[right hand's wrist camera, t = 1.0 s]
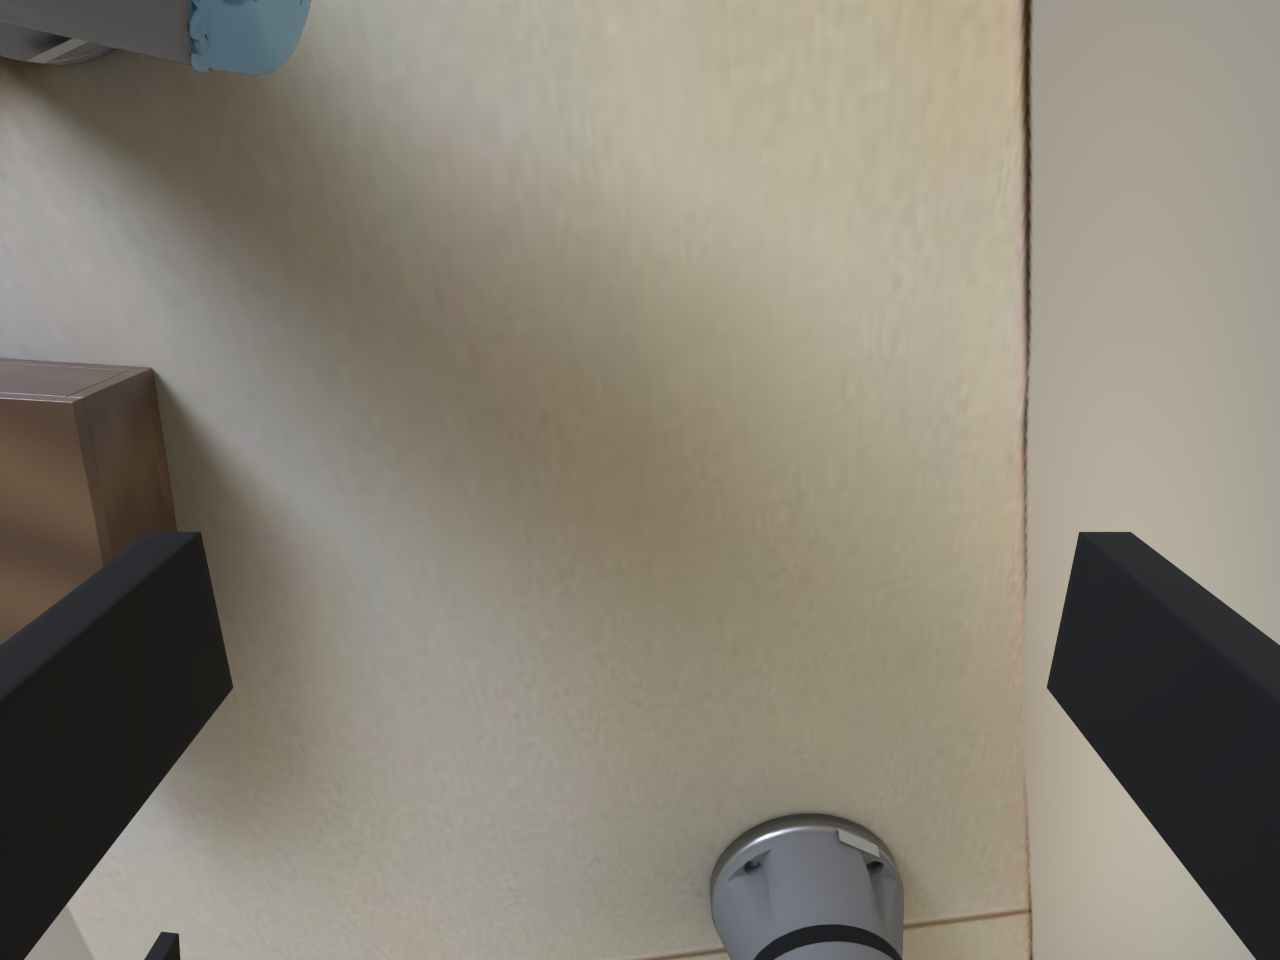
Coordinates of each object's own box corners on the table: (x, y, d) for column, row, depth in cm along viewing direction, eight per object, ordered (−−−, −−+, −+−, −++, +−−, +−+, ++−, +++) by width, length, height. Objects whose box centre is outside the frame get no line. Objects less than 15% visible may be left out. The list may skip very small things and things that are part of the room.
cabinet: (191, 624, 59) (127, 691, 52) (41, 616, 59) (-44, 682, 52) (152, 367, 52) (72, 402, 45) (-17, 357, 52) (-125, 390, 45)
